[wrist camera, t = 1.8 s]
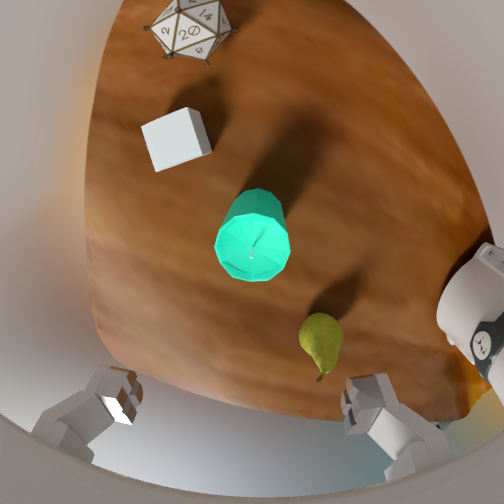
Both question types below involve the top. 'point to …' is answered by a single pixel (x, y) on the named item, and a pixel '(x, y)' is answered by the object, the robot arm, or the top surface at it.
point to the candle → (253, 237)
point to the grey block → (176, 138)
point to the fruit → (322, 340)
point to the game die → (191, 28)
